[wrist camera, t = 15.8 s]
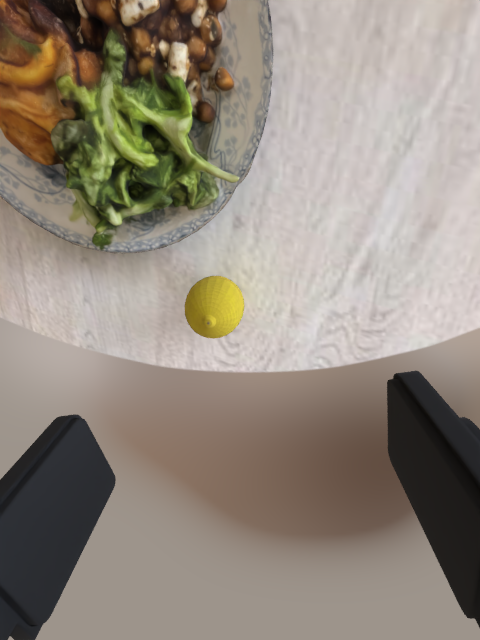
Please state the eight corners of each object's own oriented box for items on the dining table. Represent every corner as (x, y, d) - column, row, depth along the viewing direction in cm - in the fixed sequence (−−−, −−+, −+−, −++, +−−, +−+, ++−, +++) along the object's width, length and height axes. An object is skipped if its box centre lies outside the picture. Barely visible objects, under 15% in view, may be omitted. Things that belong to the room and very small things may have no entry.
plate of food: (213, 287, 31) (203, 307, 26) (-53, 192, 29) (-127, 192, 23) (333, -79, 20) (362, -183, 15) (-80, -277, 18) (-233, -489, 12)
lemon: (242, 319, 32) (238, 356, 25) (193, 313, 33) (174, 348, 25) (248, 270, 30) (245, 295, 23) (195, 264, 30) (175, 287, 23)
